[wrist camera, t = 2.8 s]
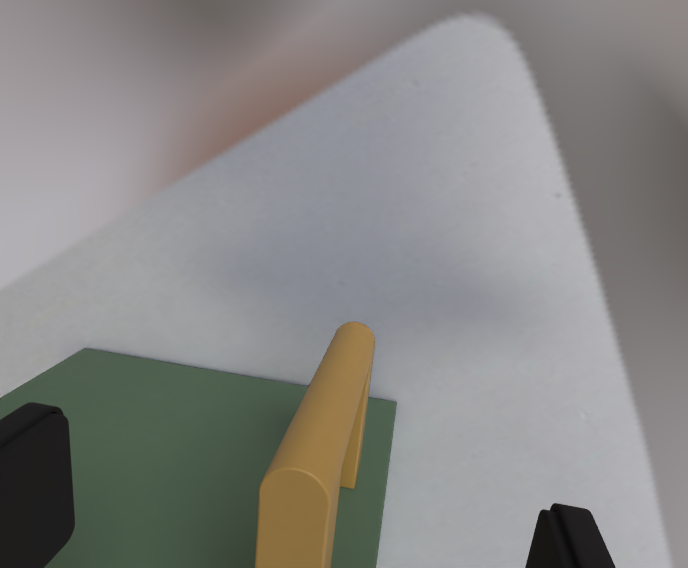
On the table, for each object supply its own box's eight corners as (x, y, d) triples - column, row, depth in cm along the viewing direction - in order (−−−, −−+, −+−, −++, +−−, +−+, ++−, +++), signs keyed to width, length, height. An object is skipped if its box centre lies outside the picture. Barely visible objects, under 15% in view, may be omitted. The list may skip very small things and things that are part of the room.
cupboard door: (77, 239, 26) (-382, 365, 11) (413, 287, 24) (387, 523, 9) (85, 363, 28) (-295, 605, 14) (394, 418, 26) (347, 784, 11)
